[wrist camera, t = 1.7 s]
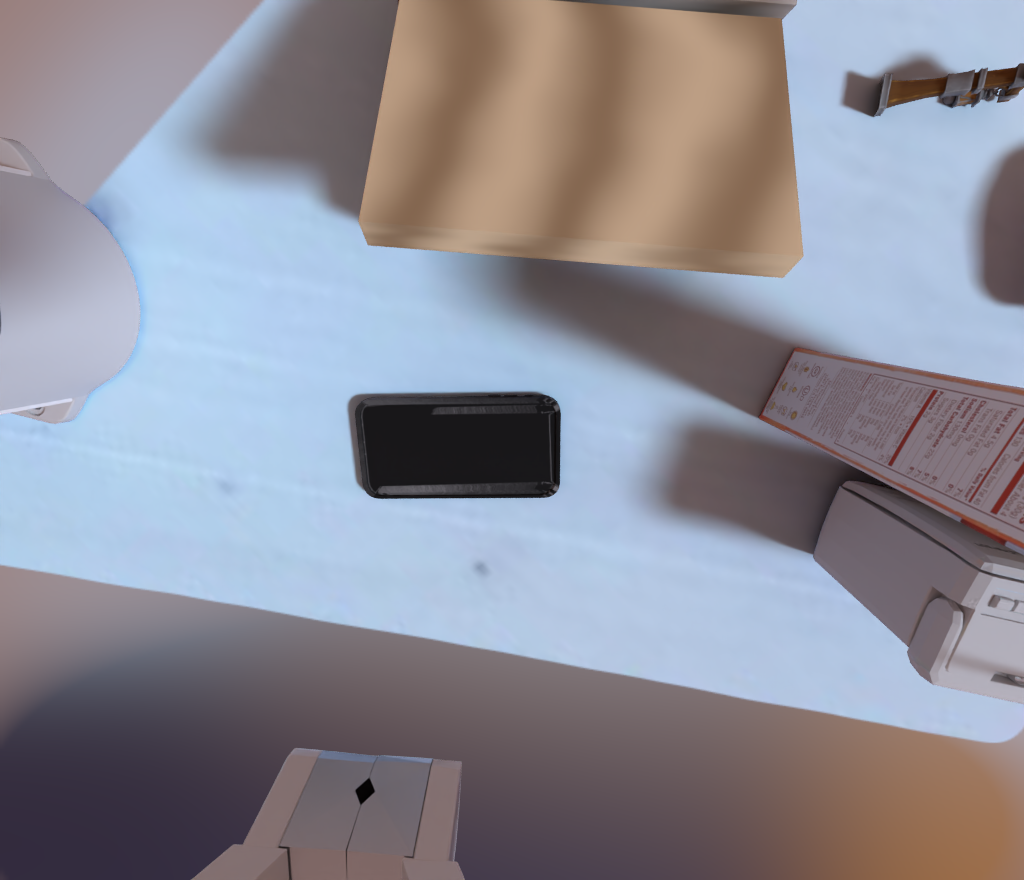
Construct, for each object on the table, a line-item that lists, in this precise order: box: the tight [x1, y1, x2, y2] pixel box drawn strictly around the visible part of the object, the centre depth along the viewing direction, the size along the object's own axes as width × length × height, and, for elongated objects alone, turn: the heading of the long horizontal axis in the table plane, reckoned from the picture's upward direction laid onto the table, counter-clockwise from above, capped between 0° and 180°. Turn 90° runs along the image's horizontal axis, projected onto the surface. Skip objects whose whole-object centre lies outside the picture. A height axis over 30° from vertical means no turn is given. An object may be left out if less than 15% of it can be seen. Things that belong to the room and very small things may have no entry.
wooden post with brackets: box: [874, 63, 1024, 117], centre depth 29 cm, size 2×8×4 cm, turn 90°
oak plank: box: [358, 0, 803, 278], centre depth 23 cm, size 18×13×2 cm
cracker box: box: [759, 348, 1024, 555], centre depth 26 cm, size 14×6×21 cm, turn 70°
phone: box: [355, 395, 561, 499], centre depth 38 cm, size 8×1×15 cm
